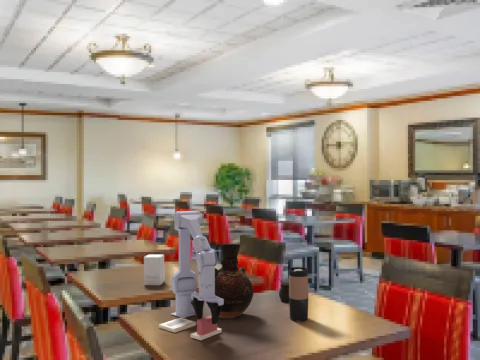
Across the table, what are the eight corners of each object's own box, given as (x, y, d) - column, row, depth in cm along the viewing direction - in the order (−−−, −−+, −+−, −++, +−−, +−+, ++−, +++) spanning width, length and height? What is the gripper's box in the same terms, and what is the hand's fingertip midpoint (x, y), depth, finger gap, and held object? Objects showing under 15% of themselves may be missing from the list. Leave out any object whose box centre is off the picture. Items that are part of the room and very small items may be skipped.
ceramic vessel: (216, 326, 178) (215, 248, 178) (196, 314, 193) (196, 242, 193) (262, 317, 189) (261, 243, 188) (240, 307, 204) (240, 238, 203)
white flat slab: (180, 320, 186) (180, 317, 186) (196, 325, 180) (196, 321, 180) (158, 327, 177) (158, 324, 177) (174, 332, 171) (174, 329, 171)
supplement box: (165, 281, 253) (164, 254, 253) (160, 285, 244) (160, 257, 244) (148, 281, 254) (148, 254, 254) (143, 285, 245) (143, 256, 245)
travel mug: (306, 315, 191) (306, 266, 191) (310, 321, 183) (309, 270, 183) (288, 315, 191) (287, 267, 190) (290, 321, 183) (290, 271, 183)
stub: (211, 329, 174) (211, 312, 174) (221, 332, 171) (221, 315, 171) (190, 337, 166) (190, 320, 166) (200, 340, 163) (200, 322, 163)
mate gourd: (294, 303, 209) (293, 280, 209) (277, 302, 211) (276, 280, 211) (295, 298, 216) (295, 277, 216) (279, 298, 218) (278, 276, 218)
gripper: (184, 283, 170) (185, 320, 170) (213, 289, 160) (214, 328, 161) (198, 279, 175) (198, 315, 175) (227, 285, 166) (227, 323, 166)
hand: (207, 321), depth 168 cm, fingers open, 7 cm apart
